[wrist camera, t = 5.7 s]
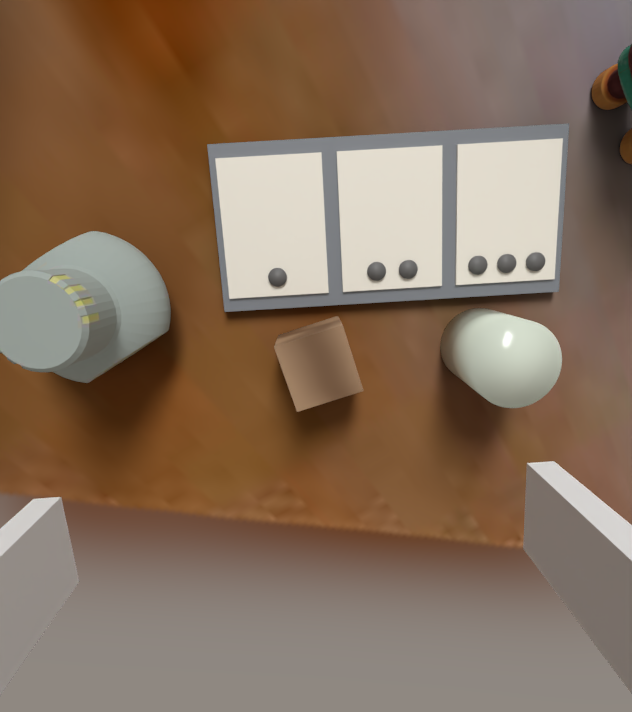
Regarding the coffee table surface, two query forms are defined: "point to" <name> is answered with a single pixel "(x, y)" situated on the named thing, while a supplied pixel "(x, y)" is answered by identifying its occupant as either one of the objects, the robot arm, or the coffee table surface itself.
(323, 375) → the walnut block
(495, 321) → the pale green capsule
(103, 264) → the air freshener
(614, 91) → the binoculars
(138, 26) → the coffee table surface
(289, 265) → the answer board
